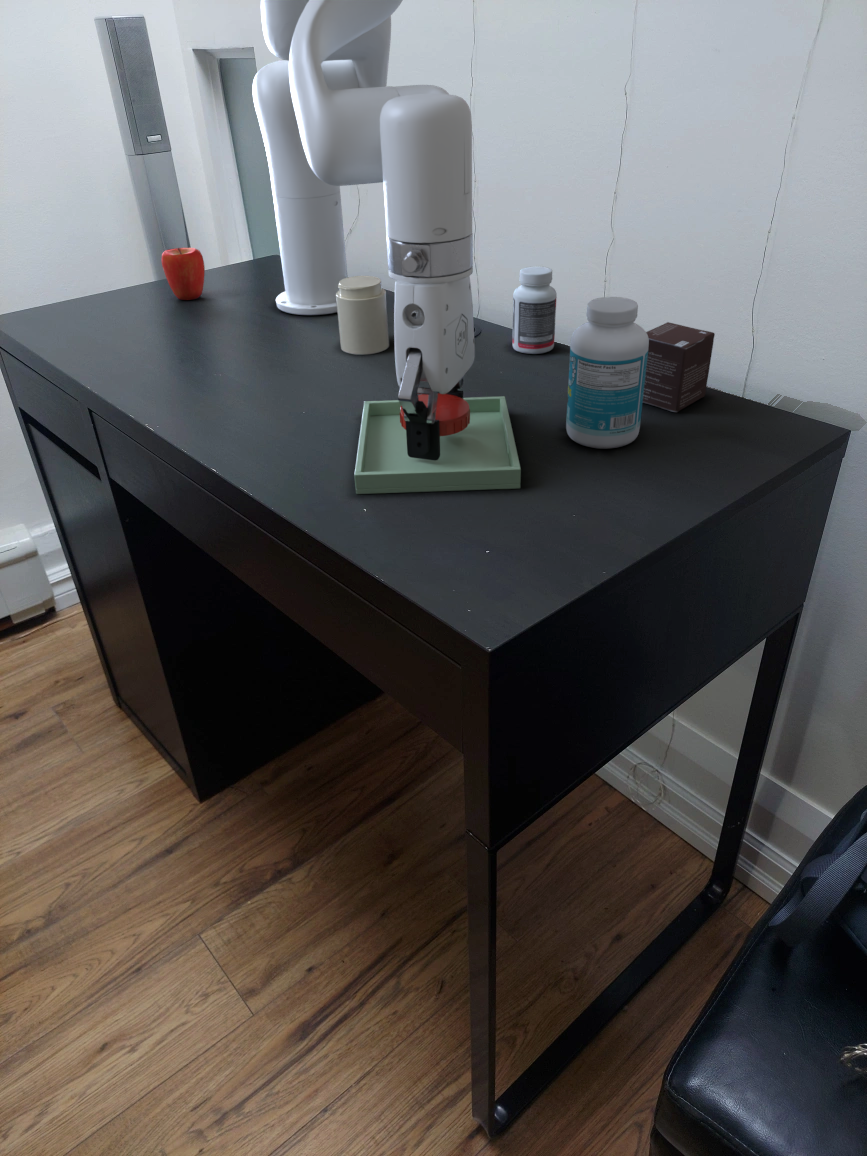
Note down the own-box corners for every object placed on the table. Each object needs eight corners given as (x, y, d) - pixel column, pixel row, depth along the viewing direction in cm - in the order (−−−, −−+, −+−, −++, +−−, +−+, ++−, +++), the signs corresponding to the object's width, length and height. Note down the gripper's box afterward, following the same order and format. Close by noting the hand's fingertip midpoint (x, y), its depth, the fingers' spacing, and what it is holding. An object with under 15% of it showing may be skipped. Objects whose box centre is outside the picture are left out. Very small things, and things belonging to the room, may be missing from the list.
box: (659, 384, 97) (667, 321, 93) (706, 397, 94) (716, 332, 90) (629, 399, 94) (636, 334, 90) (676, 414, 90) (685, 347, 86)
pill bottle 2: (585, 415, 91) (595, 288, 83) (650, 430, 87) (666, 298, 80) (552, 441, 86) (558, 308, 78) (619, 458, 82) (633, 320, 75)
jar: (342, 339, 114) (336, 275, 109) (389, 337, 114) (385, 273, 109) (339, 355, 109) (333, 289, 104) (389, 353, 109) (384, 287, 104)
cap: (457, 440, 80) (457, 425, 79) (390, 431, 82) (389, 416, 81) (478, 412, 85) (478, 397, 84) (414, 404, 87) (413, 389, 86)
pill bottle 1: (562, 349, 108) (567, 270, 103) (530, 358, 106) (532, 278, 100) (536, 338, 112) (538, 262, 106) (503, 346, 110) (504, 269, 104)
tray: (365, 418, 92) (364, 401, 91) (504, 413, 92) (504, 396, 91) (356, 494, 78) (354, 475, 77) (520, 488, 78) (520, 469, 77)
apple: (208, 290, 136) (200, 241, 132) (210, 300, 131) (201, 250, 127) (168, 294, 135) (158, 245, 131) (169, 304, 130) (158, 254, 126)
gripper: (438, 285, 67) (444, 486, 77) (497, 235, 80) (496, 412, 90) (351, 279, 69) (368, 475, 79) (423, 232, 82) (429, 405, 92)
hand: (436, 440), depth 84 cm, fingers closed on cap, 6 cm apart
